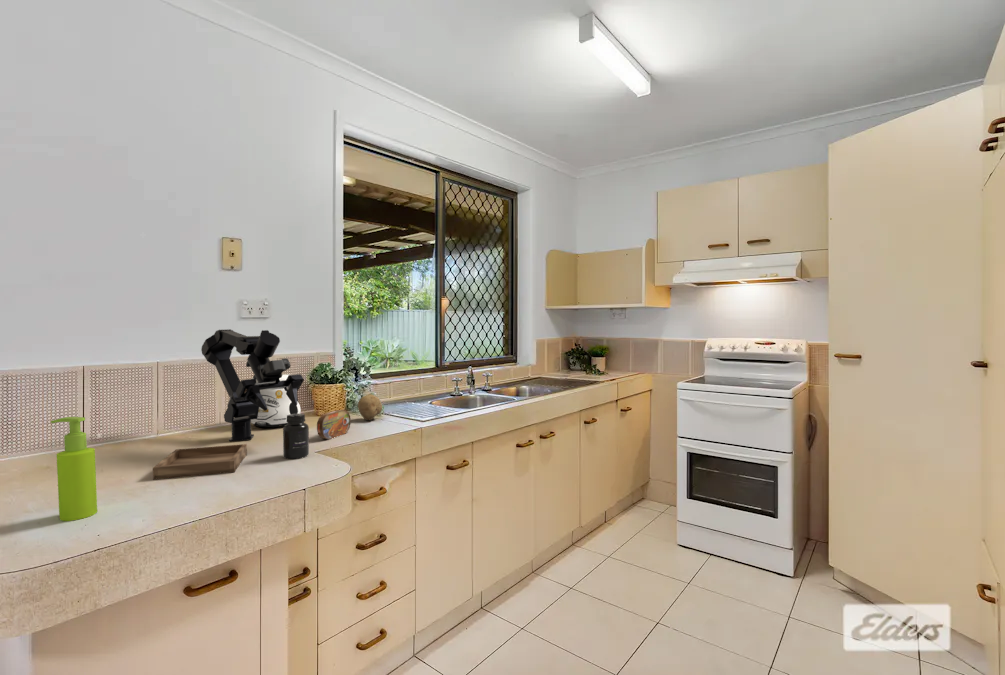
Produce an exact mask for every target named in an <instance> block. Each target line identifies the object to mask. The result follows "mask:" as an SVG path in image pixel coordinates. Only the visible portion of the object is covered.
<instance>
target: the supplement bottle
mask: <svg viewBox="0 0 1005 675" xmlns="http://www.w3.org/2000/svg"><path fill="white" fill-rule="evenodd" d="M305 421H306V414H304V413H300V414H289V415H287V422H288V424H286V425H285V426H283V429H282V438H283V439H282V443H283V444H282V445H283V446H282V451H283V452H282V456H283V458H284V459H287V458H288V459H287V460H297V459H296V458H298V459H303V458H306V457H308V456H309V453H310V443H309V442H310V440H309V439H310V438H309V437H310V434H309V433H310V432H309V430H310V429H309V428H310V427H309V425H308V424H307V422H305ZM307 455H308V456H307ZM305 456H306V457H305ZM302 457H303V458H302Z"/></svg>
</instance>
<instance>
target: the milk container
mask: <svg viewBox="0 0 1005 675" xmlns="http://www.w3.org/2000/svg"><path fill="white" fill-rule="evenodd" d="M289 375H290V374H282V377H281V378H279V380H280V381H284V380H286V379H287V377H288V376H289ZM251 379H253V377H252V378H251ZM256 381H257V380H256ZM256 383H258V381H257V382H256ZM298 391H299V390H298ZM298 391H297V406H295V405H294V404H293V403H292V402H291V400H290V399H289V398H288V396H287V395H286V392H287V391H285V389H284V388H275V389H267V390H266V389H263V390H260V393H261V395H262V397H263V399H264V401H265V403H266V405H267V410H266V411H265V410H263V409H262V408H260V407H259V411H258V417H257V419H252V420H251V425H253V426H256V427H259V428H276V427H277V428H278V427H284V426H285V425H286V424H288V422H287V415H289V414H302V412H301V405H300V402H299V398H298Z"/></svg>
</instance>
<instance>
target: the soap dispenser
mask: <svg viewBox="0 0 1005 675" xmlns="http://www.w3.org/2000/svg"><path fill="white" fill-rule="evenodd" d="M84 421H86V417H85V416H84V417H83V416H82V417H80V416H66V417H61V418H57V419H53V420H50V421H49V422H50V423H51V424H54V423H55V424H56V423H64V422H65V423H69V424H68V425H69V427H68V428H69V432H68V433H67V434H65V435H64V436H63V439H64V440H63V441H64V442H63V443H64V450H63V451H60V452H57V454H56V470H57V471H56V472H57V490H58V491H57V492H58V493H57V494H58V513H59V514H58V518H59V520H60V521H63V522H71V521H78V520H82V519H86V518H89V517H91V516H94V515H95V514H97V513H98V497H97V495H98V493H97V477H96V476H97V472H96V449H95V448H94V447H88V446H87V433H86V432H83V431H82V430H81V422H84Z"/></svg>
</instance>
